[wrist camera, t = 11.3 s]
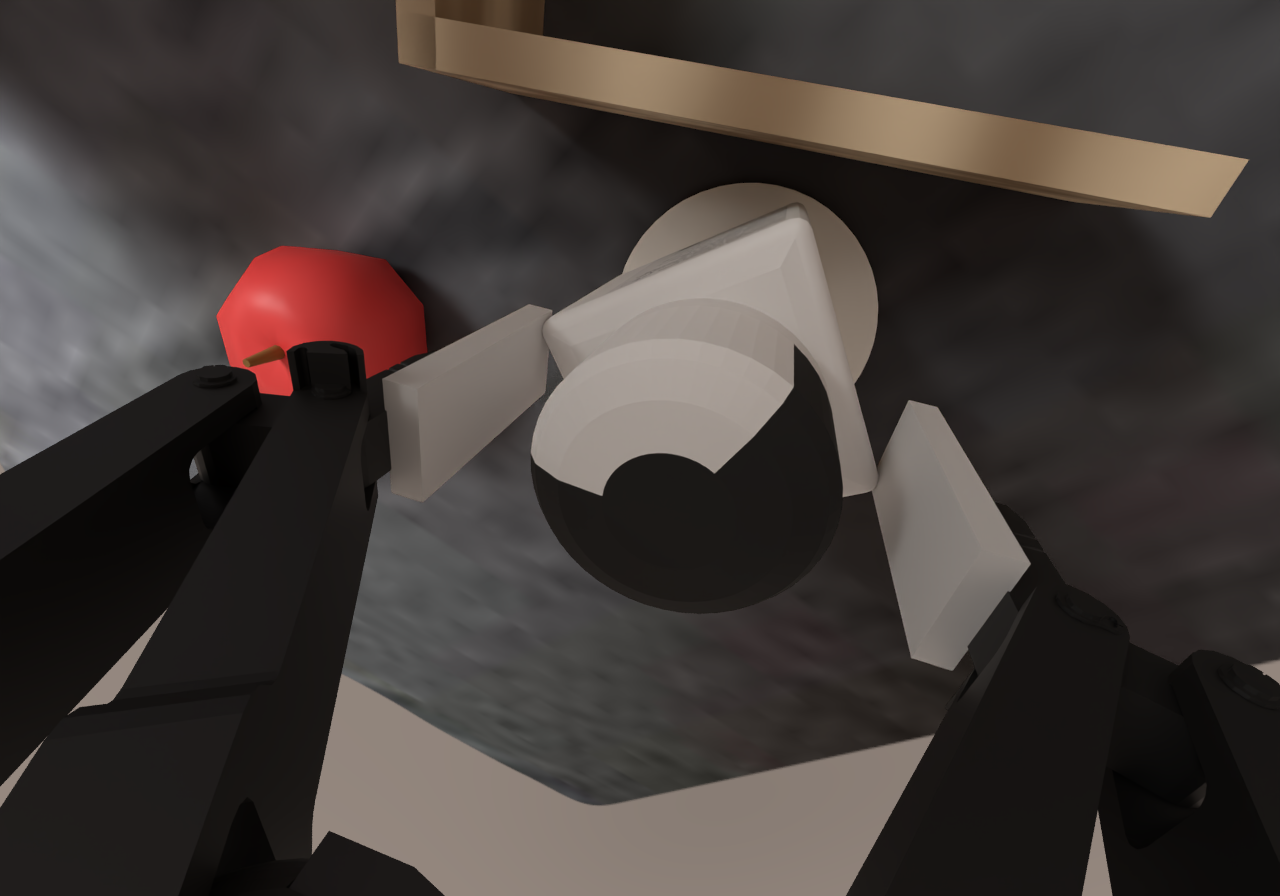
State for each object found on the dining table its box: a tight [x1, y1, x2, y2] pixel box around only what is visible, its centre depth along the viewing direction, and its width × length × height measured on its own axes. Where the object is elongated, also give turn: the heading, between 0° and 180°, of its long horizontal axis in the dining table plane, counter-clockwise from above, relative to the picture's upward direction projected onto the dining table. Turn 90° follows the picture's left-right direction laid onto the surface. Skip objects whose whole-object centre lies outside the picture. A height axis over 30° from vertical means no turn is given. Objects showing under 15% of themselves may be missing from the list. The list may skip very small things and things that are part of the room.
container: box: [531, 202, 879, 614], centre depth 16 cm, size 8×8×13 cm
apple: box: [216, 246, 427, 396], centre depth 24 cm, size 8×8×8 cm
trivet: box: [622, 183, 878, 384], centre depth 23 cm, size 11×11×1 cm
